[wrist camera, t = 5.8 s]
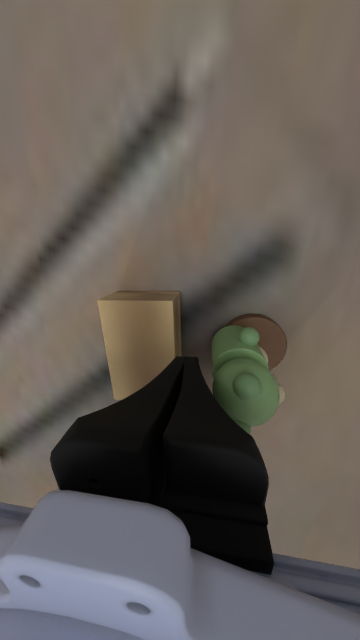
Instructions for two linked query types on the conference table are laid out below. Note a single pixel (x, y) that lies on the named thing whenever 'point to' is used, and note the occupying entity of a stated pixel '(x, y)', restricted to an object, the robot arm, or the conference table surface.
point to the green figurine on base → (248, 369)
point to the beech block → (139, 336)
